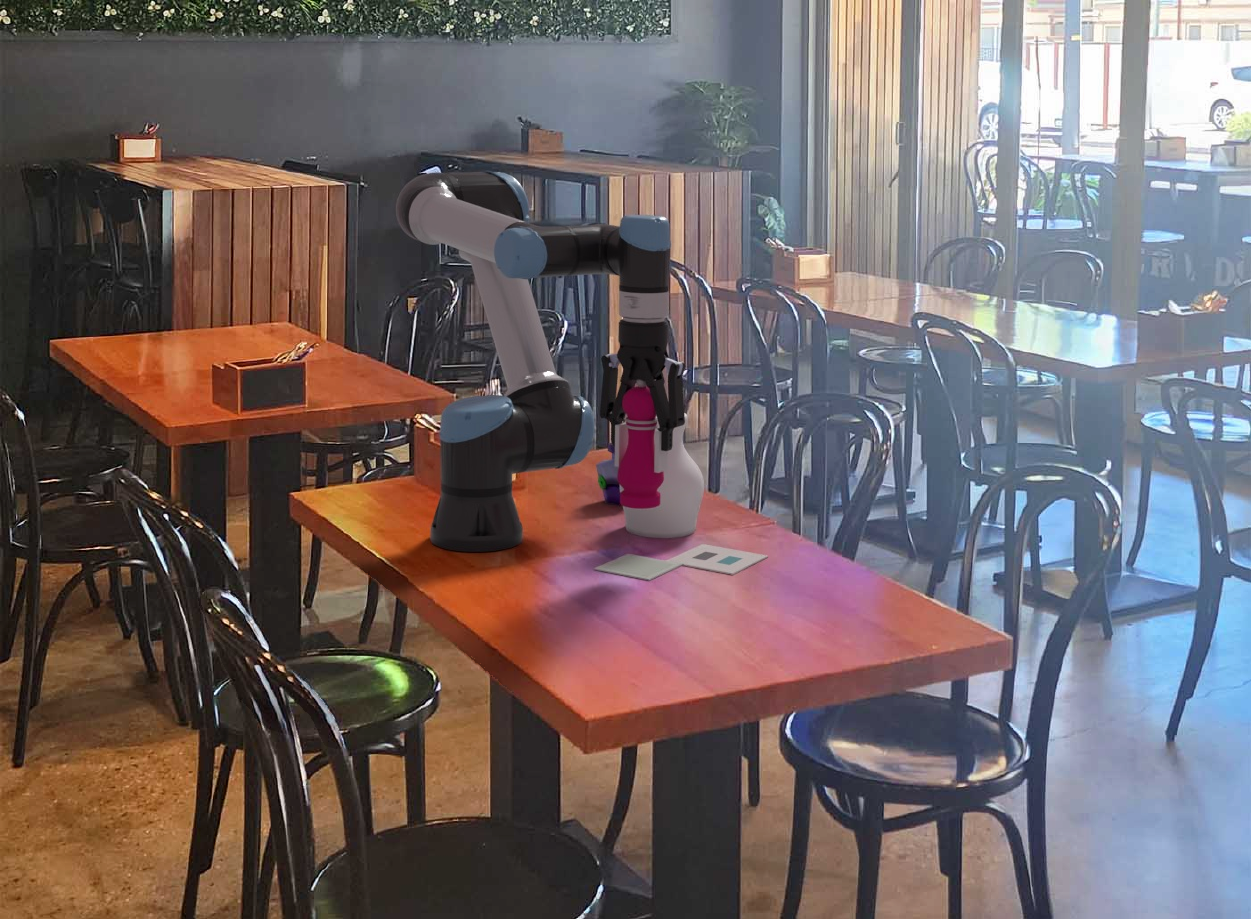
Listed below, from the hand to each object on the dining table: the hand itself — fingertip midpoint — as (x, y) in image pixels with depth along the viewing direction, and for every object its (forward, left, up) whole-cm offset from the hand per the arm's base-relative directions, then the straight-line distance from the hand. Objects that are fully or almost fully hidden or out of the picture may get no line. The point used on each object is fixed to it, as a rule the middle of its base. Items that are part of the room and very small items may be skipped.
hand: (640, 467), depth 248 cm
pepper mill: (0, 0, -6) cm, 6 cm away
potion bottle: (-25, +34, -16) cm, 45 cm away
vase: (-9, +22, -16) cm, 29 cm away
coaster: (0, 0, -16) cm, 16 cm away
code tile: (+8, +11, -16) cm, 21 cm away
